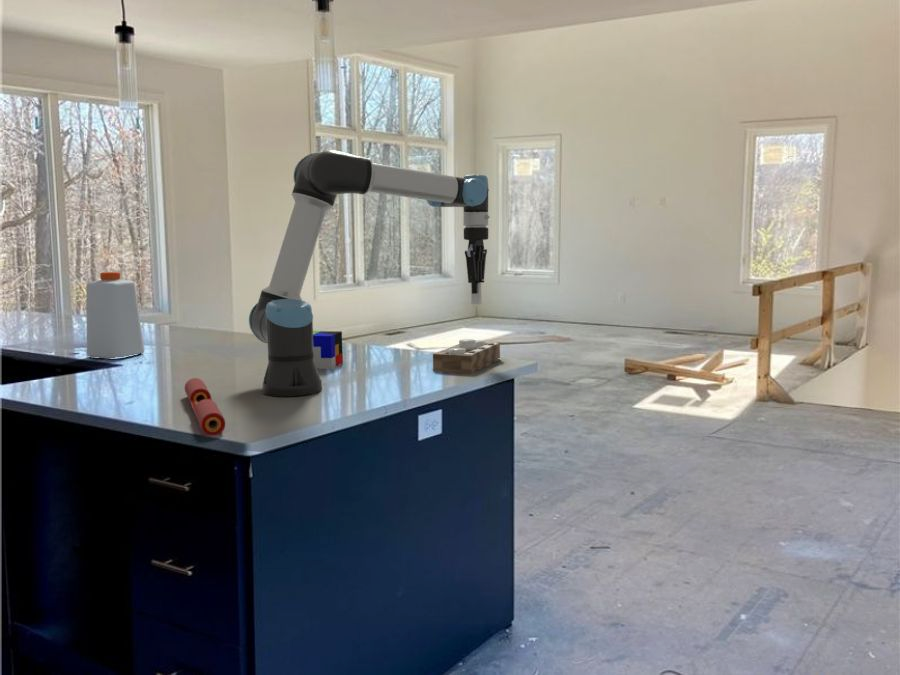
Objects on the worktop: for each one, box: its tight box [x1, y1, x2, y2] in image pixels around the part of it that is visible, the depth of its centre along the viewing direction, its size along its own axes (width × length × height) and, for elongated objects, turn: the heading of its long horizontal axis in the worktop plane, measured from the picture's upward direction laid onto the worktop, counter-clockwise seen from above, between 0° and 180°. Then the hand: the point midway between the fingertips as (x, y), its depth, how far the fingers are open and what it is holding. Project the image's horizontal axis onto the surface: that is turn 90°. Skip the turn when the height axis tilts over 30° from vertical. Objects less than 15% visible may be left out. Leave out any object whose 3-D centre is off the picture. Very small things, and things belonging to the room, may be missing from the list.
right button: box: [475, 339, 486, 347], centre depth 254 cm, size 5×5×4 cm
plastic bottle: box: [85, 271, 145, 358], centre depth 272 cm, size 15×15×28 cm
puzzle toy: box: [313, 330, 344, 370], centre depth 249 cm, size 10×10×10 cm
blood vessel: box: [184, 377, 226, 436], centre depth 190 cm, size 42×5×5 cm, turn 22°
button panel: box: [432, 342, 501, 374], centre depth 247 cm, size 24×12×6 cm, turn 157°
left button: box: [449, 348, 466, 355], centre depth 239 cm, size 5×5×4 cm
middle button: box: [458, 338, 477, 351], centre depth 247 cm, size 5×5×4 cm
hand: (476, 303), depth 252 cm, fingers closed
